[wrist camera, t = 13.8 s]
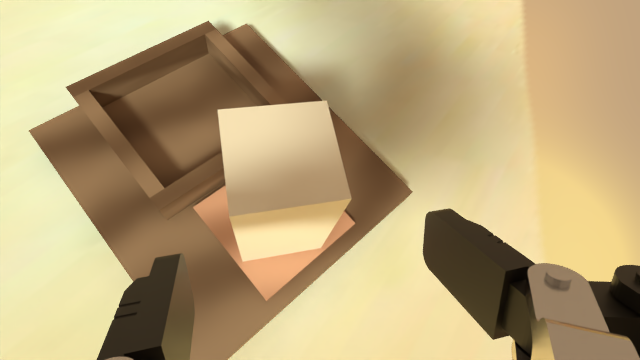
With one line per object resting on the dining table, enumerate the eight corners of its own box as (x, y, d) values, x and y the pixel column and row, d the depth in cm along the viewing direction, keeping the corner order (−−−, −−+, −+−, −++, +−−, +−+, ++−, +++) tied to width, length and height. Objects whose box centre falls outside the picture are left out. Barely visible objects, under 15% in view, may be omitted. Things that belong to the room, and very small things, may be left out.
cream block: (242, 261, 22) (229, 216, 14) (233, 188, 24) (217, 109, 15) (320, 248, 23) (351, 198, 15) (306, 178, 25) (326, 100, 16)
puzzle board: (39, 139, 25) (8, 113, 22) (247, 34, 31) (245, 3, 28) (206, 379, 20) (196, 385, 17) (406, 197, 27) (423, 181, 24)
